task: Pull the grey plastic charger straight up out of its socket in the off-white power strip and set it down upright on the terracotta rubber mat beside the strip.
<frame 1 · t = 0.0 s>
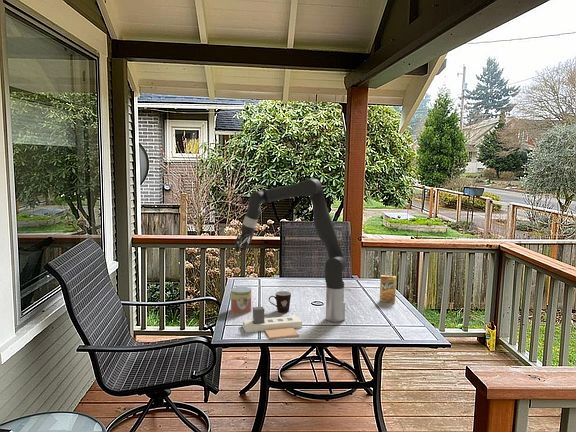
hand: (240, 250, 254), 31 cm above the table, tool tilted 20°, fingers open, 8 cm apart
mat: (281, 333, 213), on the table
canned food: (241, 311, 246), on the table
candy box: (387, 301, 266), on the table
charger: (258, 327, 220), resting in power strip
coffee mug: (280, 311, 247), on the table
power strip: (272, 326, 222), on the table
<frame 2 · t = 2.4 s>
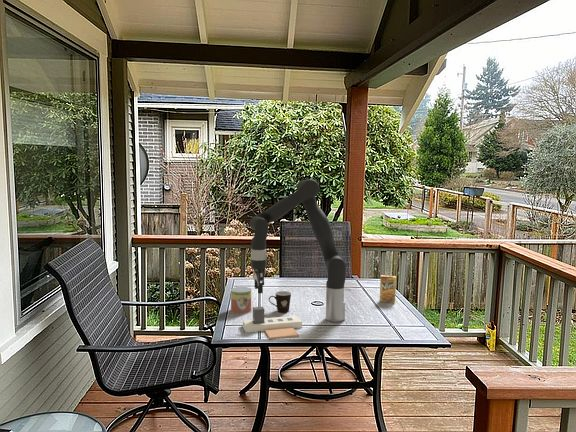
hand: (258, 290, 218), 19 cm above the table, tool pointing down, fingers open, 8 cm apart
nothing on the table moved.
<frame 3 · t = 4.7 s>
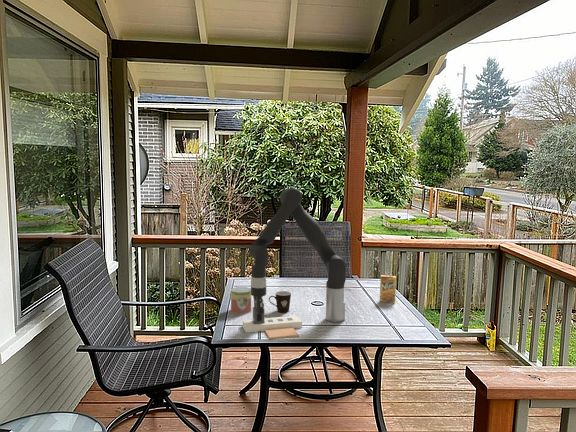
hand: (258, 319, 220), 4 cm above the table, tool pointing down, fingers closed on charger, 4 cm apart
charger: (258, 327, 220), resting in power strip, touching gripper
everything else where it was.
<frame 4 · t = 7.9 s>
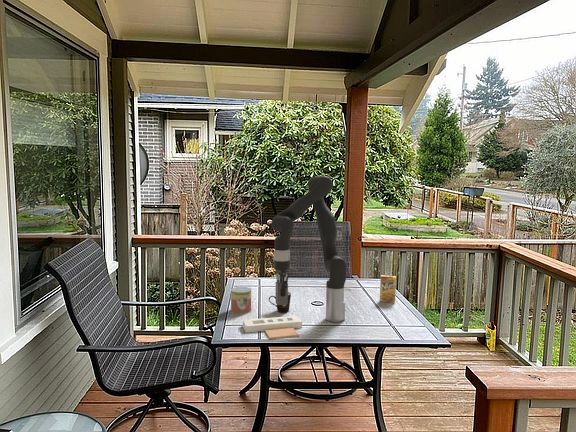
hand: (281, 294, 211), 19 cm above the table, tool pointing down, fingers closed on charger, 4 cm apart
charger: (281, 303, 211), point 15 cm above the table, touching gripper
everything else where it was.
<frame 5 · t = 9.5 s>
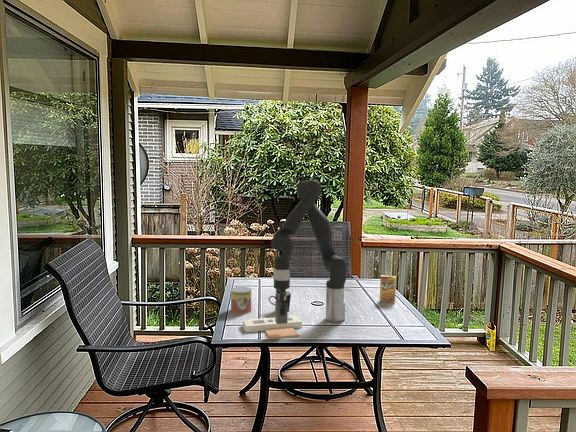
hand: (281, 313, 212), 10 cm above the table, tool pointing down, fingers closed on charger, 4 cm apart
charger: (281, 322, 212), point 6 cm above the table, touching gripper
everything else where it was.
when the fingers open (6 cm above the table, at t = 11.0 s): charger drops 1 cm, resting on mat.
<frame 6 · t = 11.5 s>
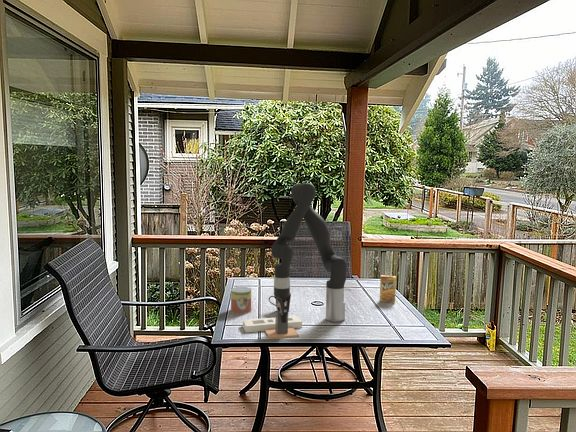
hand: (281, 319, 212), 7 cm above the table, tool pointing down, fingers open, 8 cm apart
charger: (281, 332, 213), point 1 cm above the table, touching mat
everything else where it was.
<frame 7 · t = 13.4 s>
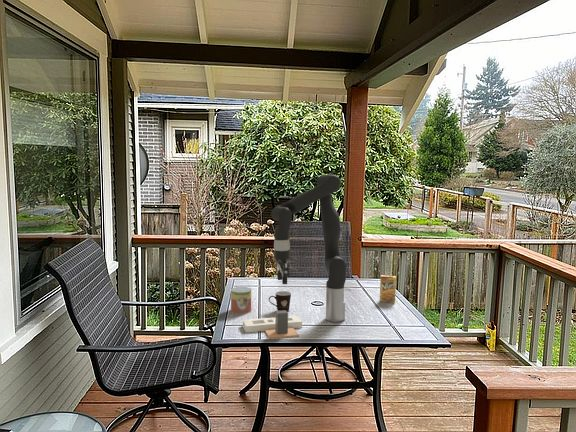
hand: (282, 281, 215), 24 cm above the table, tool pointing down, fingers open, 8 cm apart
nothing on the table moved.
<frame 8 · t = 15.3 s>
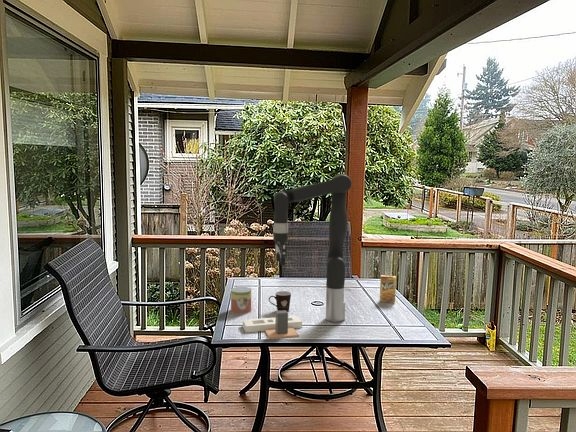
hand: (280, 263, 228), 30 cm above the table, tool pointing down, fingers open, 8 cm apart
nothing on the table moved.
at the end: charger inside the target area on the mat (0.1 cm from its centre), point 0.8 cm above the mat's base; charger tilted 0°; the gripper is holding nothing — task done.
